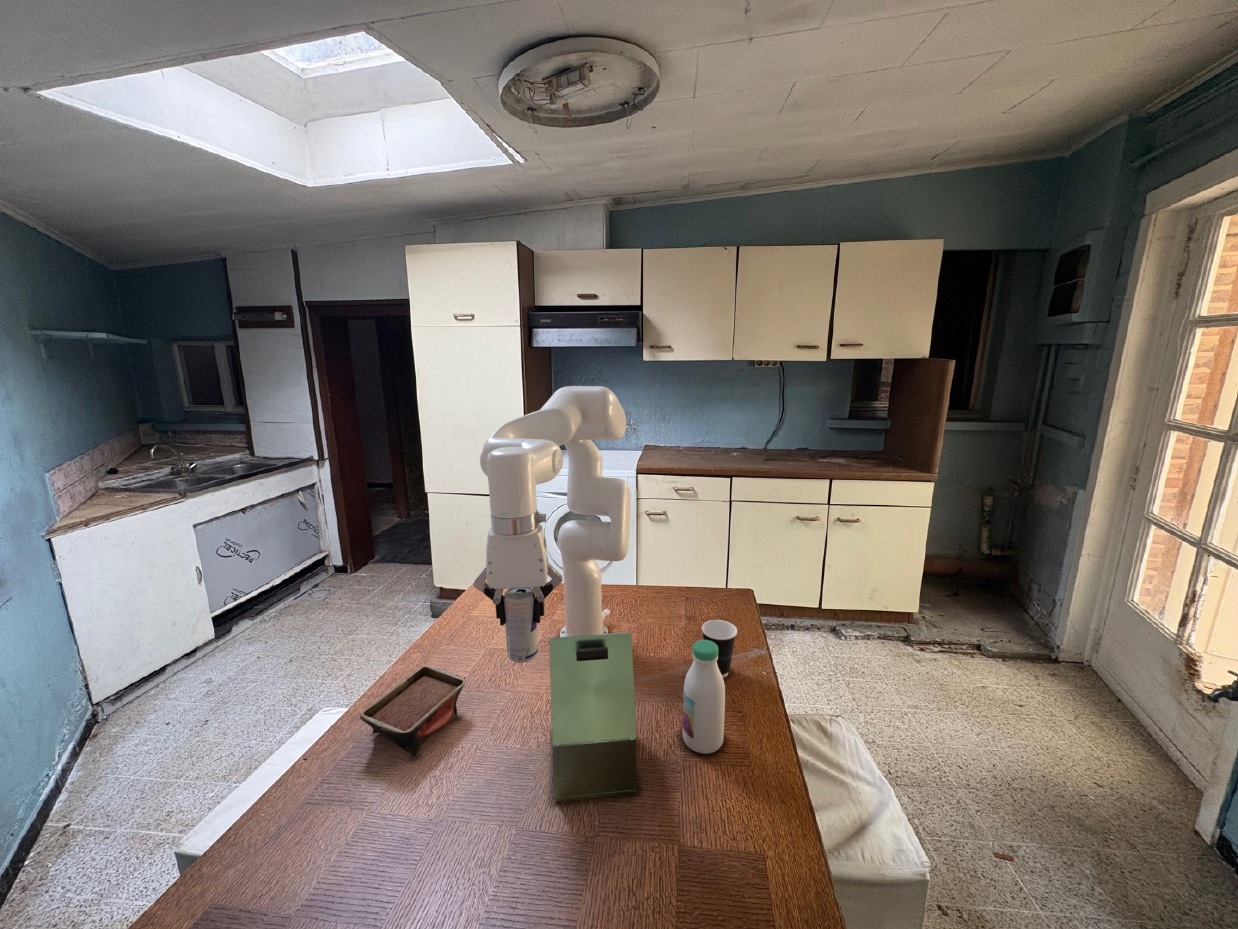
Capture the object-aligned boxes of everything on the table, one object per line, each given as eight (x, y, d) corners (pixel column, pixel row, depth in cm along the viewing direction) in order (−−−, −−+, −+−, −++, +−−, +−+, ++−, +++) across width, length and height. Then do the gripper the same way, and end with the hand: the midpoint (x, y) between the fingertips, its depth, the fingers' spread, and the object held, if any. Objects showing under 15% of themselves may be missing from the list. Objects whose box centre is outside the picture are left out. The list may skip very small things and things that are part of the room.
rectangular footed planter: (474, 722, 103) (473, 675, 103) (400, 773, 88) (399, 718, 87) (425, 705, 110) (424, 660, 110) (348, 750, 94) (347, 698, 94)
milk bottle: (725, 729, 98) (729, 638, 93) (720, 759, 91) (724, 662, 86) (686, 720, 100) (688, 631, 96) (678, 749, 93) (680, 653, 89)
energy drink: (541, 646, 91) (538, 586, 88) (533, 664, 86) (529, 601, 83) (513, 644, 92) (509, 584, 89) (503, 662, 86) (498, 599, 84)
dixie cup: (703, 658, 120) (704, 617, 118) (737, 665, 118) (739, 622, 115) (697, 678, 113) (698, 635, 111) (732, 686, 111) (734, 641, 108)
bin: (556, 732, 98) (554, 684, 95) (625, 726, 99) (624, 678, 97) (555, 802, 83) (552, 747, 80) (636, 793, 84) (636, 739, 82)
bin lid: (549, 637, 83) (548, 644, 78) (630, 632, 84) (634, 637, 79) (552, 743, 80) (551, 756, 75) (636, 735, 82) (640, 748, 77)
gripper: (566, 512, 87) (570, 606, 92) (466, 516, 86) (475, 612, 90) (566, 527, 80) (570, 629, 84) (456, 532, 79) (466, 635, 83)
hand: (521, 619), depth 87 cm, fingers closed on energy drink, 5 cm apart
